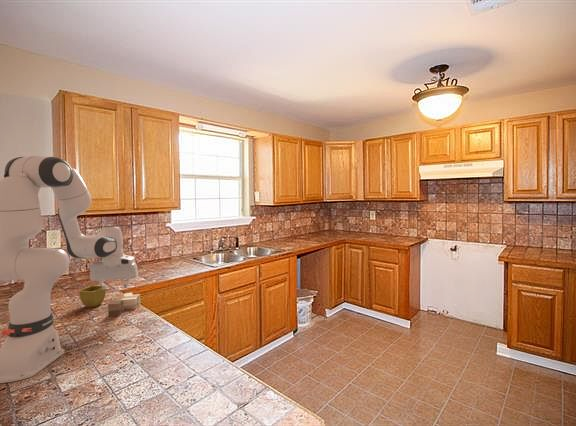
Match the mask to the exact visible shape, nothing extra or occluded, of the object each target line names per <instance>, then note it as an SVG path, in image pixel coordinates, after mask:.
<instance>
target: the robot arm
mask: <svg viewBox="0 0 576 426" xmlns="http://www.w3.org/2000/svg"><path fill="white" fill-rule="evenodd" d="M41 188H51V190H52V191H53V194H54V196H55V198H56V200H57V202H58V209H57V217H58V220H59V224H60V225H61V226H60V227H61V229H62V233H63V235H64V238H65V243H66V251H67V252H66V251H65V250H64V249H61V248H53V247H29V242H30V239H31V238H33V237H36V236H37V235H39V233H40V232H41V231H42V229H43V221H42V213H41V206H40V199H39V192H40V189H41ZM92 202H93V201H92V195H91V193H90V191H89V189H88V187H87V185H86V183H85V181H84V179H83V178H82V176H81V175H80V173H79V172H78V170H77V168H74V167H72V166H71V165H70V164H69V163H68V162H67V161H66V160H64V159H63V158H61V157H55V156H41V155H31V156H19V157H15V158H11V159H10V160H9V161H7V163H6V165H5V167H4V175H3V178H1V179H0V281H1V282H11V281H13V282H14V281H23V283H24V284H23V288H22V290H19V291H18V292H16V293H15V294H14V295H12V297H10V299H9V301H8V313H9V322H8V326H7V328H3V329H1V332H0V333H1V337H3V336H6V338H5V340H4V342H2V344H1V347H0V384H5V383H11V382H12V383H13V382H19V381H21V380H26V379H29V378H32V377H33V376H36V375H37V374H38V373H39V372H41V371H42V370H43V369H45V368H47V366H49V365H50V364H51V363H53V362H55V360H57V359H58V358H60V357H61V356H63V355H64V354H65V353H66V351H65V349H63V348H62V347H61V342H60V336H59V332H58V330H57V329H56V328H55V327H54V316H53V313H52V309H51V308H52V307H51V294H52V289H53V286H54V285H55V283H56V282H57V280H58V279H59V278H61V277H62V276H63V275H64V274H65V273H66V272H67V271H68V269H69V267H70V260H71V259H70V256H71V258H74V259H83V258H84V259H85V258H87V259H101V258H102V260H93V261H91V262H90V263H89V266H88V267H89V270H90V271H89V280H90V281H91V282H98V283H99V286H102V290H104V289H106V290H107V289H108V285H107V284H105V283H104V282H105V281H113V280H114V281H115V280H116V281H118V280H125V283H124V284H123V288H124V289H128V288H129V283H130V282H131V279H136V278H137V277H138V276H139V269H138V268H139V267H138V265H137V263H136V262H135V259H136V258H135V256H132V255H127V254H125V253H124V249H123V245H124V239H123V233H122V229H121V227H119V226H109V225H107V226H102V227H101V230H100V232H98V233H97V234H95V235H85V234H83V233H82V232H81V229H80V225H79V222H78V219H77V217H78V216H81V215H82V214H84V213H85V212H87V211H88V210H89V208H91V205H92ZM68 254H69V255H68Z"/></svg>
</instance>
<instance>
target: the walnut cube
mask: <svg viewBox="0 0 576 426" xmlns="http://www.w3.org/2000/svg"><path fill="white" fill-rule="evenodd" d="M107 311H108V312H107V313H108V317H120V316H122V315H123V313H124V311H125V309H124V308H123V300H121V299H115V300H112V299H111V301H109V302H108V303H107Z"/></svg>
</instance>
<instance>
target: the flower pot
mask: <svg viewBox="0 0 576 426" xmlns="http://www.w3.org/2000/svg"><path fill="white" fill-rule="evenodd" d="M106 291H107V289H104V290H102V286H101V285H90V286H88V287H85V288H83V289H81V290H78V294H79V299H80V302H81V303H82V304H83V306H84V307H86V308H87V307H88V308H95V307H97V306H100V305H101V304H102V303H103V302H104V300H105V298H106Z"/></svg>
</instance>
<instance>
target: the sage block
mask: <svg viewBox="0 0 576 426" xmlns="http://www.w3.org/2000/svg"><path fill="white" fill-rule="evenodd" d="M125 295H133V292H126V293H123V297H124V296H125Z"/></svg>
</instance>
